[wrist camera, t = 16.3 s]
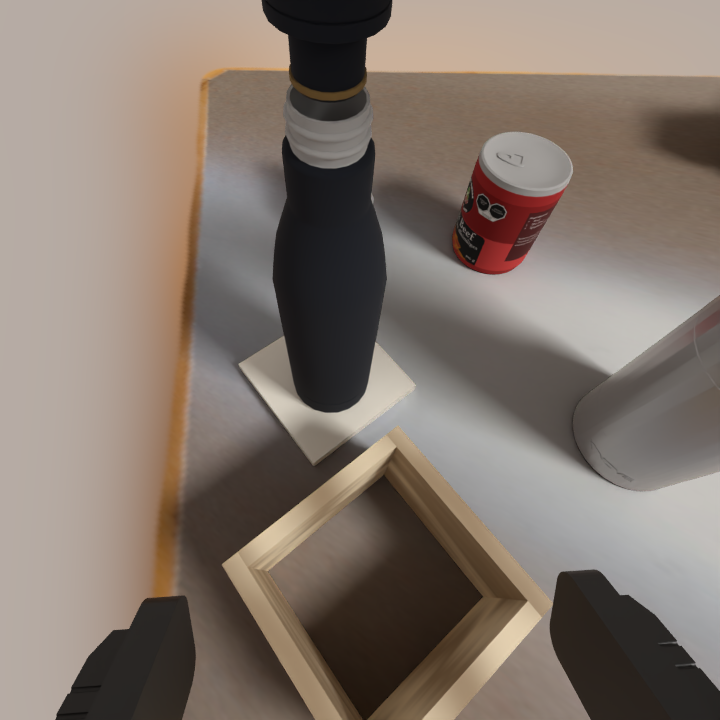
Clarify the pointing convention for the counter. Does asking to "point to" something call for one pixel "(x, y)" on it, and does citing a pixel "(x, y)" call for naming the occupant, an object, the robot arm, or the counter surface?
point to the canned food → (509, 200)
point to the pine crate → (459, 539)
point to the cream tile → (314, 427)
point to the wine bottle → (329, 201)
